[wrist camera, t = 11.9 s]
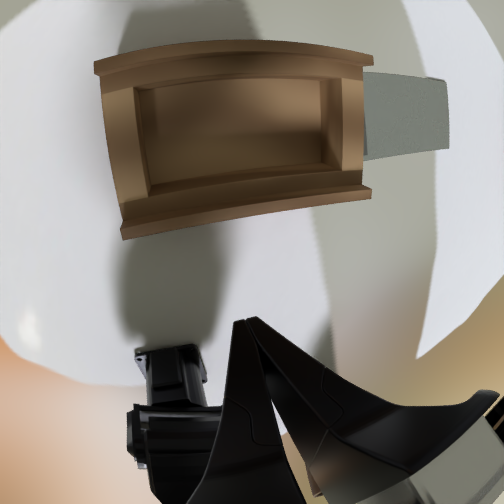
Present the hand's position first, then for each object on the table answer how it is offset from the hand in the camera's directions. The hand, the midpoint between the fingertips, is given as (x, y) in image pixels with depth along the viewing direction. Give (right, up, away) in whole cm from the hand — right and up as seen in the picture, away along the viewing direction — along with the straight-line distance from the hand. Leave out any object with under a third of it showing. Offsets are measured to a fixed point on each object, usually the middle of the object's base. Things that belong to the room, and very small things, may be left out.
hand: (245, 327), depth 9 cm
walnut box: (-1, +11, +8) cm, 14 cm away
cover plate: (+14, +16, +11) cm, 24 cm away
